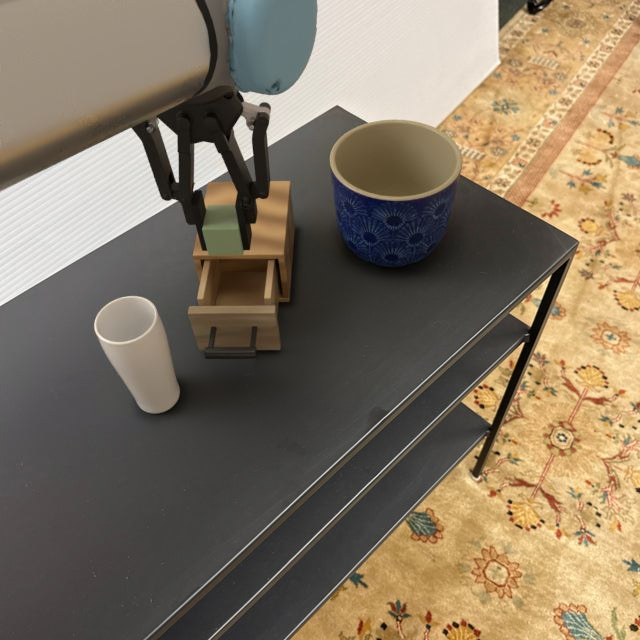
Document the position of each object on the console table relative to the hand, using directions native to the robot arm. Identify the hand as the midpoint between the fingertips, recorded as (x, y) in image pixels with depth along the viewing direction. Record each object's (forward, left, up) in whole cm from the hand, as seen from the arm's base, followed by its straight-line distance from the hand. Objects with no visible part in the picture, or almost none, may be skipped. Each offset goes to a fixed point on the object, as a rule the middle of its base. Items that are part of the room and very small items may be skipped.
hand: (227, 241), depth 74 cm
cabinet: (0, +11, -15) cm, 19 cm away
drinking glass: (-9, -11, -15) cm, 21 cm away
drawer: (0, 0, -14) cm, 14 cm away
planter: (+20, +15, -15) cm, 29 cm away
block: (0, 0, 0) cm, 0 cm away
